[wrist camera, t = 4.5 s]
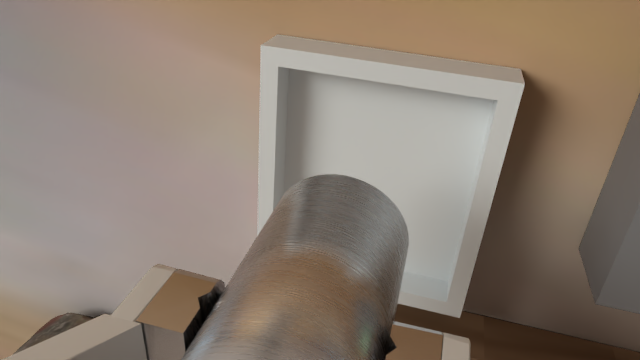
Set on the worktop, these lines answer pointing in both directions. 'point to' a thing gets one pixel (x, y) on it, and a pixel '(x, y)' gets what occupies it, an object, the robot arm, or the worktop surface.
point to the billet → (313, 279)
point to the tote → (392, 145)
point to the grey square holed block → (617, 228)
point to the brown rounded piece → (55, 328)
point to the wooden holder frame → (510, 338)
